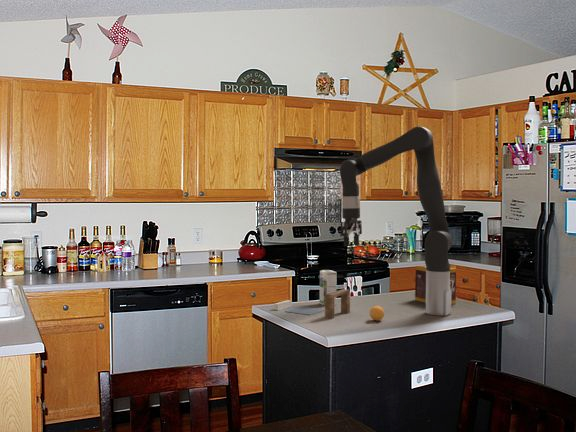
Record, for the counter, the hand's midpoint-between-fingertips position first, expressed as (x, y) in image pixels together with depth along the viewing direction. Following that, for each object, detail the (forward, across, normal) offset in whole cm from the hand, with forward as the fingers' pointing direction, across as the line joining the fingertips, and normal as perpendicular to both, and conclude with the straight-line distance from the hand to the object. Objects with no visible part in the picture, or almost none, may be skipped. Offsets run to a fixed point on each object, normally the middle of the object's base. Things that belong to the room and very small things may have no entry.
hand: (351, 245), depth 260 cm
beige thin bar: (+25, -21, +21) cm, 39 cm away
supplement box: (+27, +30, -25) cm, 47 cm away
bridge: (+26, -21, -5) cm, 33 cm away
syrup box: (+26, -3, +10) cm, 28 cm away
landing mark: (+25, -21, +10) cm, 34 cm away
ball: (+23, -20, -22) cm, 38 cm away
